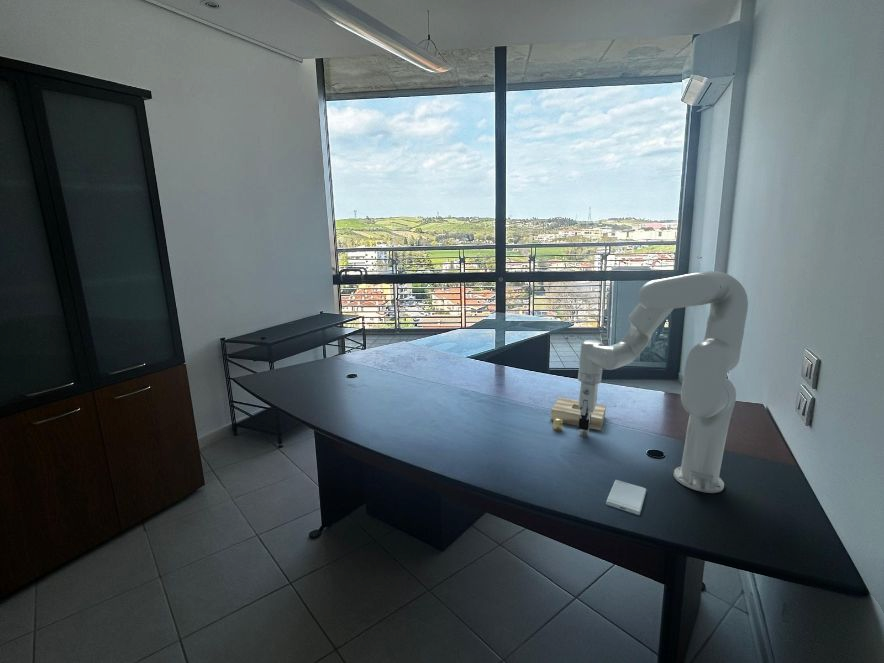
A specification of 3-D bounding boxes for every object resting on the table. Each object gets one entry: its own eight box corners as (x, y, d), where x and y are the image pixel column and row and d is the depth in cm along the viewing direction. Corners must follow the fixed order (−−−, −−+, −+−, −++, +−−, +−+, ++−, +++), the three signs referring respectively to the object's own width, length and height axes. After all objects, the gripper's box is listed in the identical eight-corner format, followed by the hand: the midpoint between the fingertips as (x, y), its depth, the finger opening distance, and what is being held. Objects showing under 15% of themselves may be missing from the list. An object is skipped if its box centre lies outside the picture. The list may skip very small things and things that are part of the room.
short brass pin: (561, 432, 156) (562, 421, 155) (552, 430, 157) (552, 419, 156) (562, 428, 158) (563, 418, 158) (553, 427, 160) (554, 416, 159)
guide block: (600, 430, 158) (602, 418, 157) (550, 420, 165) (551, 408, 164) (604, 416, 170) (606, 405, 169) (557, 407, 178) (558, 397, 177)
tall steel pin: (587, 437, 152) (590, 410, 150) (577, 435, 153) (580, 408, 151) (588, 434, 155) (591, 407, 152) (579, 432, 156) (582, 405, 154)
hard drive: (615, 479, 124) (606, 500, 114) (646, 488, 120) (640, 511, 110) (614, 484, 125) (605, 506, 114) (646, 493, 120) (639, 517, 110)
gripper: (598, 385, 140) (592, 438, 144) (604, 371, 155) (598, 420, 159) (574, 381, 143) (569, 433, 147) (582, 368, 158) (577, 416, 162)
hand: (584, 426), depth 153 cm, fingers open, 4 cm apart
